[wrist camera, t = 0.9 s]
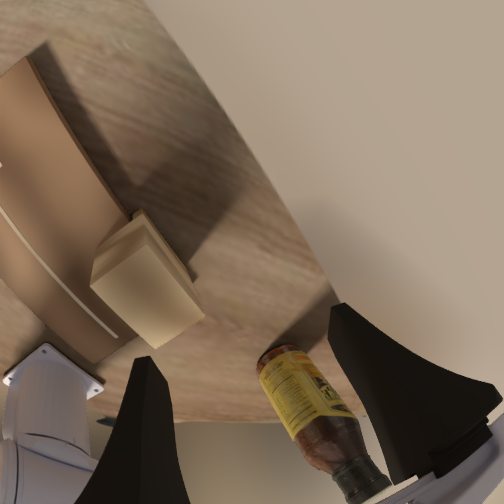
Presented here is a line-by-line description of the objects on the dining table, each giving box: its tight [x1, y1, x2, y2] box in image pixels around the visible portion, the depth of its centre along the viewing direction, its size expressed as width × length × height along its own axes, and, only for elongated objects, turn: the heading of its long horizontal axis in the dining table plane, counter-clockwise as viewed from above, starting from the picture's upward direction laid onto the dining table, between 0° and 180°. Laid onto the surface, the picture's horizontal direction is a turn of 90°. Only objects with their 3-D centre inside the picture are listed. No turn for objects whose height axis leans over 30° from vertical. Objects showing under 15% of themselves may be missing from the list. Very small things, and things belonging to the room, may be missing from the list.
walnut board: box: [0, 56, 139, 365], centre depth 16 cm, size 11×22×2 cm, turn 26°
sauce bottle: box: [256, 344, 392, 504], centre depth 24 cm, size 6×6×20 cm
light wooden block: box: [90, 208, 206, 349], centre depth 18 cm, size 4×6×6 cm, turn 26°
